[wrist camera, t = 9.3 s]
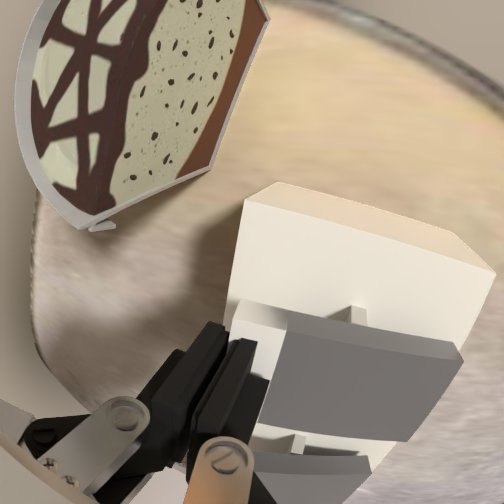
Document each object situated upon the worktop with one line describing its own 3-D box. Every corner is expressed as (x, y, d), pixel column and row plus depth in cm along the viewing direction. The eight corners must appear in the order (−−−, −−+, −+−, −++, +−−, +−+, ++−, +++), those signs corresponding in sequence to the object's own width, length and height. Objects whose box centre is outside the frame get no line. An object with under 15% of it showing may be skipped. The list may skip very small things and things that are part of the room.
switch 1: (452, 341, 10) (464, 361, 9) (402, 421, 11) (407, 441, 10) (240, 298, 10) (232, 318, 9) (222, 391, 12) (215, 412, 11)
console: (452, 232, 15) (509, 286, 8) (314, 485, 24) (300, 546, 18) (273, 180, 17) (225, 204, 10) (214, 457, 26) (186, 513, 20)
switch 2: (367, 455, 13) (371, 473, 12) (335, 490, 15) (338, 507, 14) (210, 444, 13) (207, 465, 12) (203, 482, 15) (200, 499, 13)
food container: (186, -16, 14) (81, -88, 5) (280, -2, 13) (211, -113, 4) (122, 159, 19) (-10, 184, 10) (203, 193, 18) (77, 245, 9)
